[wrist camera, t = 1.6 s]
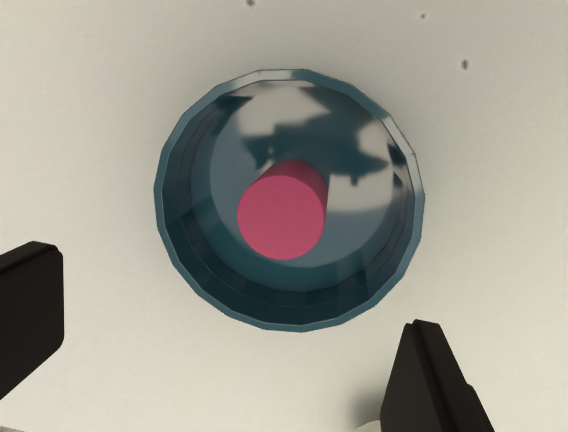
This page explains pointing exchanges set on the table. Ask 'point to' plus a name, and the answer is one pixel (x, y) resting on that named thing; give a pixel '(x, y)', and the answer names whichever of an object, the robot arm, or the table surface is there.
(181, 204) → the bowl
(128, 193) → the table surface
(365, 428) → the headphones
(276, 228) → the pink cylinder block
